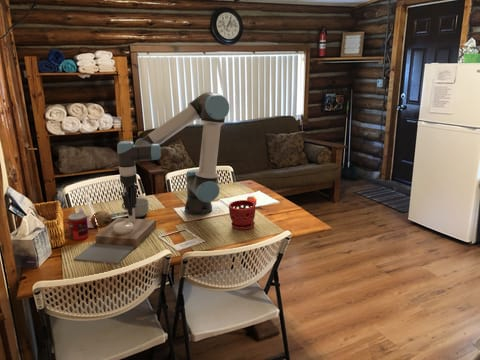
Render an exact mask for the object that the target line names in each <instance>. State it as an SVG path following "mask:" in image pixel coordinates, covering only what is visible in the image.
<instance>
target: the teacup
mask: <svg viewBox="0 0 480 360" xmlns="http://www.w3.org/2000/svg"><path fill="white" fill-rule="evenodd" d="M135 206H136V208H135V207H134V210H135V218H142V217H144V216H146V215H147V214H148V213H149V210H150V209H149V199H148V198H144V197H137V202H136V205H135ZM121 207H122V210H124V211H127V212H128V209H125V206H124V202H122V204H121Z"/></svg>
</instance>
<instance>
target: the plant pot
mask: <svg viewBox="0 0 480 360" xmlns="http://www.w3.org/2000/svg"><path fill="white" fill-rule="evenodd" d="M247 207H248V208H247ZM256 209H257V208H256V204H255V202H254V201H251V200H248V199H241V200H234V201H231V202H230V203H229V204H228V212H229V218H230V220H231V226H232V227H233V228H234V229H236V230H238V231H239V230H242V231H246V230H249V229H251V228H253V227H254V226H255V223H256V222H255V221H254V220H255V217H256Z"/></svg>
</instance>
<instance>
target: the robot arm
mask: <svg viewBox="0 0 480 360" xmlns="http://www.w3.org/2000/svg"><path fill="white" fill-rule="evenodd" d="M229 112H230V104H229V101H228V99H227V98H226V97H225V96H224V95H222V94H220V93H216V92H215V93H214V92H211V91H208V92H203V93H202V94H200V95H198V96H197V97H196V98H195V99H193V100H192V101H190V102H189V103H188V104H187V107H185V108H184V109H183V110H181V111H179V112H178V113H177V114H175V115H174V116H173V117H171V118H170V119H168V120H167V121H165V122H164V123H162V124H161V125H160V126H159V127H157V128H156V129H153V131H151V132H149V133H148V134H147V135H146V136H144V137H142V138H138V139H136V140H135V143H134V142H133V141H131V140H124V141H123V140H122V141H118V143H117V146H116V147H117V148H116V149H117V152H116V153H117V158H118V159H117V162H118V170H119V171H118V172H119V182H120V183H121V184H122V186H123V188H122V189H123V190H122V191H121V192H120V195H121V197H122V201H123V202H122V203H124V207H125V209H128V211H127V213H128V214H127V215H128V216H127V217H128V218H129V221H133V222H134V221H135V219H136V217H135V210H134V207H135V208H136V206H135V205H136V202H137V198H138V194H137V193H138V184H136V183H137V180H138V178H137V167H136V162H143V161H155V160H160V159H161V156H162V152H161V151H162V150H161V146H160V145H162V144H163V143H165V142H166V141H168V140H169V139H170V138H171V137H173V136H174V135H176V134H177V133H179V132H180V131H182V130H183V129H184V128H186V127H187V126H189V125H190V124H192V123H193V122H194V121H196V120H200V121H201V122H202V123H203V127H202V135H201V137H202V138H201V145H200V155H199V166H198V168H195V169H190V170H187V171H186V174H185V177H186V194H187V197H186V198H187V199H186V201H185V205H184V212H185V213H186V214H189V215H194V216H195V215H196V216H199V215H207V214H209V213H211V212H210V211H213V204H212V202H213V201H215V200H216V199H217V198H218V196H219V195H220V187H219V184H218V180H219V175H218V174H217V172H216V171H217V163H218V155H219V145H220V137H221V127H222V126H223V125H224V124H225V120H226V117H227V116H228V114H229Z"/></svg>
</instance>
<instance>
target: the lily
mask: <svg viewBox="0 0 480 360" xmlns="http://www.w3.org/2000/svg"><path fill="white" fill-rule="evenodd" d="M77 213H84V214H86V213H85V212H84V210H83V208H82V207H79V209H78V212H77ZM72 214H73V213H70V215H72ZM86 216H87V224H88V228H91V229H94V228H95V226H94V225H93V224H92V223H91V218H92V216H91V215H87V214H86Z"/></svg>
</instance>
